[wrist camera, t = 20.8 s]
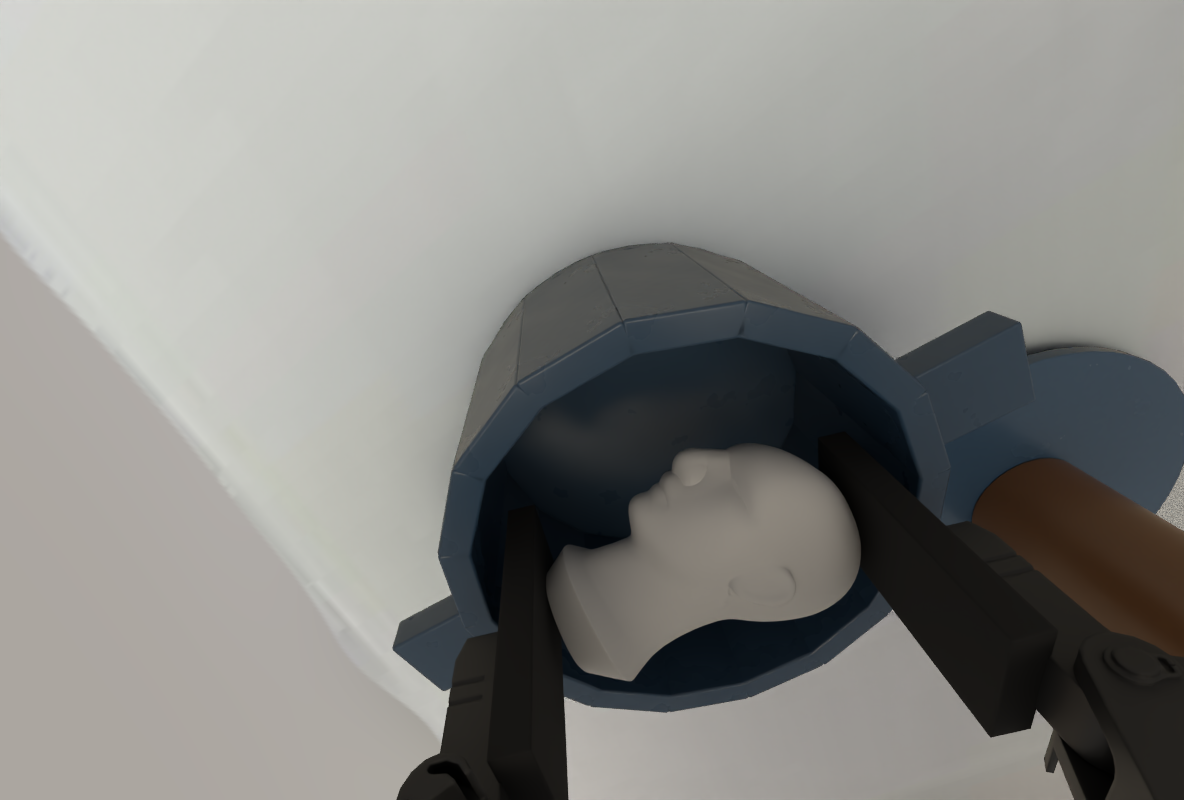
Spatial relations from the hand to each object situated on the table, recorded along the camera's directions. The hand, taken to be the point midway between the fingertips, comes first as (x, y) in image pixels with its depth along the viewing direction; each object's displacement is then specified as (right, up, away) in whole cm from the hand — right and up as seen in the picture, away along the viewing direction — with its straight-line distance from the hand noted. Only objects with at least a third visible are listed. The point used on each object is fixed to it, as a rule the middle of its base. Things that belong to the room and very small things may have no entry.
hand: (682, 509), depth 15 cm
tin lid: (+16, -1, +8) cm, 18 cm away
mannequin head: (0, 0, 0) cm, 0 cm away
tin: (-1, +3, +5) cm, 6 cm away
